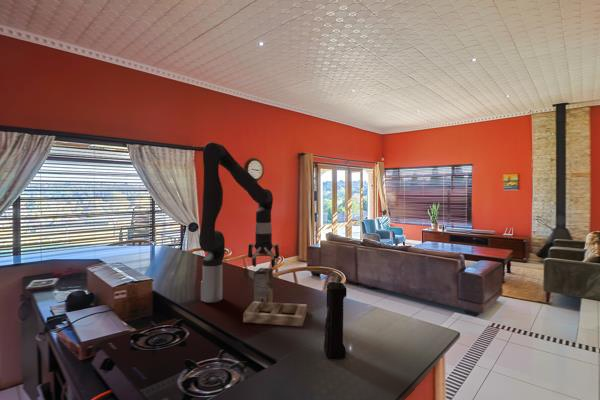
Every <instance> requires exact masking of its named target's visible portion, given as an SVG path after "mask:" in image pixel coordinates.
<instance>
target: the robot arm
mask: <svg viewBox="0 0 600 400" xmlns="http://www.w3.org/2000/svg"><path fill="white" fill-rule="evenodd" d="M202 163H203V182H202V183H203V189H202V208H201V209H202V210H201V223H200V230H199V238H198V244H199V247H200V249H201V250H202V251H203V252H207V254H206V255H205V257H203V258H202V280H201V281H200V301H201V302H203V303H209V304H210V303H211V304H212V303H218V302H220V301H222V300H223V261H224V258H225V249H226V248H225V245H226V243H225V242H226V241H225V236H224V234H223V233H222V232H221V231H220V230H216V222H217V219H218V216H219V214H220V212H221V209H222V207H223V202H224V190H223V185H222V181H221V178H220V175H219V173H220V172H219V168H220V166H221V167H222V168H225V170H226V171H228V173H229V174H230V176H232V178H233V180H234V181H235V182H236V183H237V184H238V185H239V186H240V187H242V189H243V190H244V191H246V192H247V194H248V196H249V197H251V199H252V200H253V201H254V202H255V203H256V204H258V206H257V207H258V208H257V210H256V211H255V229H254V230H255V238H254V239H255V240H254V241H255V243H254V244H253V243H250V244H249V245H248V253H247V254H248V255H247V257H248V258H250V259H251V261H252V262H251V264H252V267H257V256H258V255H268V256H269V257H270V258H271V261H270V263H271V265H270V266H271V269H273V268H274V267H275V266H276V259H279V257H280V249H279V248H280V246H279V244H273V239H272V238H273V237H272V236H273V233H272V231H273V228H272V209H273V203H274V201H273V199H274V197H273V193H272V191H271V190H270V189H268V188H263V187H262V186H261V185H260V184H259V183H258V180H257V179H256V178H255V177H254V176H253V175H252V174H251V173H249V172H248V171H247V170H246V169H245V168H244V167H243V166H242V165H241V164H240V163H238V162H237V160H236V159H235V158H234V157H233V155H231V153H230V152H229V150H228V149H227V148H226V147H225V146H224V145H223V144H220V143H216V142H213V141H211V142H207V143H206V144H205V145H204V147H203V150H202ZM254 248H255V251H254V254H253V250H254ZM272 249H273V250H274V251H275V252H273V250H272ZM274 253H275V254H274Z"/></svg>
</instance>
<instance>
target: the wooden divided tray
mask: <svg viewBox="0 0 600 400" xmlns="http://www.w3.org/2000/svg"><path fill="white" fill-rule="evenodd" d="M307 306H308V304H304V303H303V304H302V303H289V302H287V303H286V302H273V301H272V302H259V301H254V300H253V301H252V302H251V303H250V305H249V306H248V307H247V308H246V309H245V310H244V312H243V314H242V322H243V323H251V324H253V323H254V324H266V325H277V326H279V325H281V326H291V327H292V326H294V327H303V325H304V321H305V319H306V316H307V308H308V307H307ZM267 312H268V313H267ZM269 312H270V313H269ZM286 313H287V314H286Z"/></svg>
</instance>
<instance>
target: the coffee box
mask: <svg viewBox="0 0 600 400" xmlns="http://www.w3.org/2000/svg"><path fill="white" fill-rule="evenodd" d="M273 272H274V270H273V268H272V267H271V268H269V267H268V268H267V267H260V268H259V269H258V270H256V271H254V272H253V301H259V302H273V301H274V300H273V297H274V295H273V294H274V293H273V290H274V289H273V287H274V285H273V280H274V278H273V276H274V275H273Z"/></svg>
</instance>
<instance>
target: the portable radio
mask: <svg viewBox="0 0 600 400" xmlns="http://www.w3.org/2000/svg"><path fill="white" fill-rule="evenodd" d="M345 298H347V287H346V286H345V284H344V283H343V282H342V279H339V280H338V281H330V282H329V281H328V282H327V284H326V318H325V325H324V327H325V328H324V341H323V349H324V352H325V353H324V354H325V356H326V358H327V359H328V360H329V359H335V360H343V358H344V359H346V358H347V357H346V356H347V353H346V351H347V349H346V347H345V345H344V300H345Z"/></svg>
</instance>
